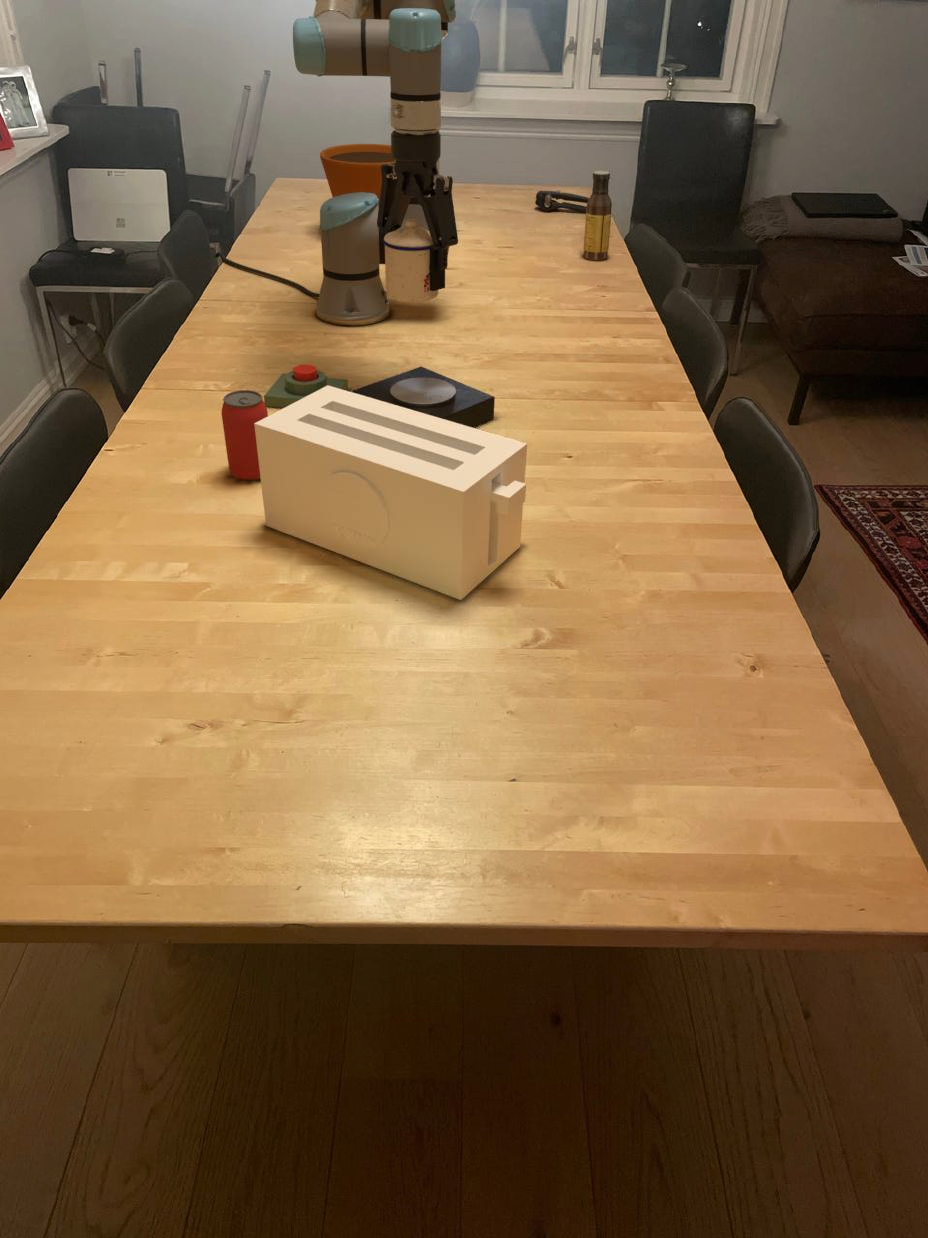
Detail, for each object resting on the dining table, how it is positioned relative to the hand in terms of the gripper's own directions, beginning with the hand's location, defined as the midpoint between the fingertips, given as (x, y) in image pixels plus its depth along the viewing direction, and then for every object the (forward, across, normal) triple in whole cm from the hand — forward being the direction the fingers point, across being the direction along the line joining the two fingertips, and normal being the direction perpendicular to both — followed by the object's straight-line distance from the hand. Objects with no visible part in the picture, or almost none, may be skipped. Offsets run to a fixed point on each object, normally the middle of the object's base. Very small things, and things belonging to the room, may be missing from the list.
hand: (416, 281), depth 157 cm
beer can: (+21, +3, -37) cm, 43 cm away
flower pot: (+19, -84, +61) cm, 106 cm away
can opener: (+18, -68, +121) cm, 140 cm away
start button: (+16, -13, -14) cm, 25 cm away
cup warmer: (+20, +6, -4) cm, 22 cm away
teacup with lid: (+2, -1, 0) cm, 2 cm away
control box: (+20, -13, -14) cm, 28 cm away
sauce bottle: (+19, -33, +92) cm, 99 cm away
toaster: (+21, +33, -34) cm, 52 cm away
